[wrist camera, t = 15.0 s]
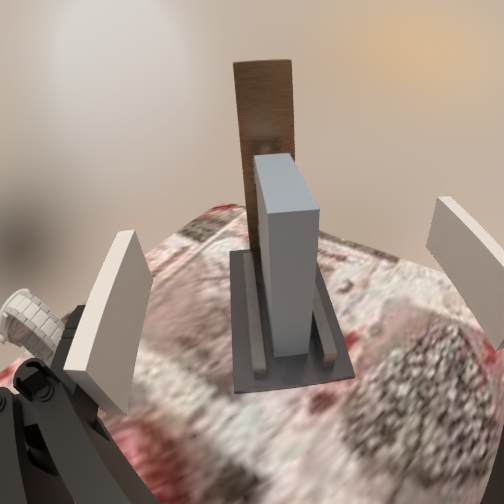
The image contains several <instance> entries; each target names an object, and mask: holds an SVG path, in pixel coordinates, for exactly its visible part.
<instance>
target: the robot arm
mask: <svg viewBox="0 0 504 504" xmlns="http://www.w3.org/2000/svg"><path fill="white" fill-rule="evenodd" d="M426 247H427V249H428V250H429V251H430V253H431V254H432V255H433V257H434V258H435V259H436V260H437V262H438V263H439V265H440V266H441V267H442V269H443V270H444V272H445V273H446V274H447V276H448V277H449V279H450V280H451V281H452V283H453V284H454V286H455V287H456V289H457V290H458V292H459V293H460V295H461V296H462V298H463V299H464V301H465V302H466V304H467V305H468V307H469V308H470V310H471V311H472V313H473V315H474V316H475V318H476V319H477V321H478V323H479V324H480V326H481V327H482V329H483V331H484V332H485V334H486V336H487V338H488V339H489V341H490V343H491V344H492V346H493V348H494V350H495V351H497V350H499V349H502V348H504V250H503V249H502V248H501V247H500V246H499V245H498V244H497V242H496V241H495V240H494V239H493V238H492V237H491V236H490V235H489V234H488V233H487V232H486V231H485V230H484V229H483V228H482V227H481V226H480V225H479V224H478V223H477V222H476V221H475V220H474V219H473V218H472V217H471V216H470V215H469V214H468V213H467V212H466V211H465V210H464V209H463V208H462V207H461V206H460V205H459V204H458V203H457V202H455V201H454V200H453V199H452V198H451V197H450V196H443V197H437V201H436V205H435V210H434V215H433V219H432V223H431V228H430V232H429V236H428V240H427V244H426ZM152 283H153V278H152V276H151V273H150V271H149V268H148V265H147V263H146V260H145V257H144V254H143V252H142V249H141V246H140V243H139V241H138V237H137V235H136V232H135V230H128V231H122V232H118V234H117V236H116V238H115V240H114V242H113V244H112V246H111V249H110V251H109V253H108V255H107V257H106V259H105V261H104V264H103V266H102V268H101V270H100V273H99V275H98V278H97V280H96V282H95V285H94V287H93V289H92V292H91V294H90V296H89V299H88V301H87V304H86V305H78V306H77V307H76V308H75V310H74V311H73V312H72V313H71V314H70V316H69V318H68V320H67V323H66V325H65V330H63V333H62V336H61V340H60V341H59V343H58V346H57V349H56V352H55V355H54V357H53V360H52V363H51V366H50V368H49V367H48V366H47V365H46V364H45V363H44V361H43V360H41V359H39V358H30V359H28V360H26V361H24V362H23V363H22V364H21V365H20V366H19V367H18V369H17V371H16V372H15V375H14V379H13V387H14V388H15V389H16V390H17V391H18V392H19V394H15V395H14V394H13V393H12V392H11V391H10V390H9V389H8V388H5V387H0V504H75V503H76V504H161V503H160V502H159V501H158V500H157V498H156V497H155V496H154V495H153V494H152V492H151V491H150V490H149V489H148V487H147V486H146V485H145V484H144V482H143V481H142V480H141V478H140V477H139V476H138V474H137V473H136V472H135V470H134V469H133V468H132V466H131V465H130V463H129V462H128V461H127V459H126V458H125V456H124V455H123V453H122V452H121V450H120V449H119V447H118V446H117V444H116V443H115V441H114V440H113V438H112V437H111V435H110V434H109V432H108V430H107V429H106V427H105V426H104V424H103V422H102V421H101V419H100V418H99V417H98V416H97V413H98V408H99V407H100V408H101V409H102V410H103V411H104V412H105V413H106V414H113V415H127V410H128V403H129V397H130V391H131V384H132V379H133V373H134V367H135V362H136V357H137V351H138V346H139V341H140V336H141V331H142V327H143V322H144V317H145V313H146V308H147V304H148V300H149V295H150V291H151V287H152ZM74 501H75V502H74ZM480 504H504V426H503V431H502V435H501V439H500V443H499V447H498V451H497V455H496V458H495V462H494V465H493V468H492V472H491V475H490V478H489V481H488V484H487V487H486V490H485V492H484V495H483V498H482V500H481V503H480Z"/></svg>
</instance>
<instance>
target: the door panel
mask: <svg viewBox="0 0 504 504" xmlns="http://www.w3.org/2000/svg"><path fill="white" fill-rule="evenodd" d="M254 164H255V177H256V191H257V205H258V219H259V233H260V248H261V263H262V277H263V286H264V293H265V300H266V307H267V314H268V321H269V328H270V335H271V342H272V349H273V356H274V358H275V357H283V356H292V355H299V354H306V353H308V350H309V341H310V331H311V322H312V311H313V301H314V289H315V277H316V263H317V248H318V232H319V212H320V209H319V207H318V205H317V203H316V202H315V200H314V198H313V196H312V194H311V192H310V190H309V188H308V186H307V184H306V183H305V181H304V179H303V177H302V175H301V173H300V171H299V170H298V168H297V166H296V164H295V162H294V161H293V159H292V157H291V155H290V154H289V153H282V154H268V155H256V156H254Z"/></svg>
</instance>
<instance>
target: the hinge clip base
mask: <svg viewBox="0 0 504 504" xmlns="http://www.w3.org/2000/svg"><path fill="white" fill-rule="evenodd" d="M233 71H234V81H235V92H236V104H237V115H238V126H239V137H240V147H241V158H242V169H243V180H244V191H245V201H246V212H247V223H248V234H249V245H250V249H248V250H237V251H230V290H231V323H232V351H233V376H234V393H235V394H236V393H249V392H259V391H269V390H278V389H286V388H294V387H301V386H308V385H315V384H321V383H327V382H333V381H338V380H344V379H349V378H354V377H355V374H354V370H353V367H352V364H351V361H350V357H349V354H348V351H347V348H346V345H345V342H344V339H343V336H342V333H341V330H340V327H339V324H338V321H337V318H336V315H335V312H334V309H333V306H332V303H331V300H330V297H329V295H328V292H327V289H326V286H325V283H324V280H323V278H322V275H321V272H320V269H319V267H318V264H317V263H316V277H315V289H314V301H313V311H312V322H311V331H310V341H309V350H308V353H306V354H299V355H292V356H283V357H275V358H274V356H273V349H272V342H271V335H270V328H269V321H268V314H267V307H266V300H265V293H264V286H263V277H262V263H261V248H260V233H259V219H258V205H257V191H256V177H255V164H254V156H256V155H268V154H282V153H289V154H290V155H291V157H292V159H293V161H294V162H295V146H294V145H295V144H294V111H293V85H292V63H291V60H288V59H276V60H256V61H242V62H233Z"/></svg>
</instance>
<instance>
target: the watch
mask: <svg viewBox="0 0 504 504" xmlns="http://www.w3.org/2000/svg"><path fill="white" fill-rule="evenodd" d="M48 319H49V320H48ZM47 320H48V321H47ZM46 321H47V322H46ZM45 322H46V323H45ZM56 322H57V323H56ZM43 325H44V326H43ZM42 326H43V327H42ZM41 327H42V328H41ZM63 330H65V325H64V324H63V323H62V322H61V321H60V320H59V319H58V318H57V316H55V314H54V313H53V312H52V311H50V309H49V308H48V307H47V306H46V305H45V304H44V303H42V302H41V301H40V300H39V299H38V298H36V297H35V296H34V295H33V294H32V292H31V291H30V290H28V289H21V290H18V291H17V292H15V293H14V294H12V295H11V296H10V297H9V298H8V300H7V301H6V302H5V304H4V305H3V307H2V309H1V310H0V342H1V343H3V344H4V343H5V342H6V340H7V341H8V342H10V343H13V344H15V345H17V346H19V347H22V345H23V346H24V347H25V348H26V349H27V350H28V351H29V352H30V353H31V354H32V355H33V356H34V355H35V356H34V357H35V358H39V359H41V360H43V361H44V363H45V364H46V365H47V366H48V367H49V368H50V366H51V363H52V360H53V357H54V355H55V352H56V349H57V346H58V343H59V341H60V340H61V336H62V333H63ZM5 339H6V340H5ZM37 340H38V341H37ZM36 341H37V342H36ZM33 345H34V346H33ZM28 346H29V347H28ZM32 346H33V347H32ZM45 346H46V347H45ZM44 347H45V348H44ZM42 350H43V351H42ZM41 351H42V352H41ZM35 353H36V354H35ZM39 354H40V355H39Z"/></svg>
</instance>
